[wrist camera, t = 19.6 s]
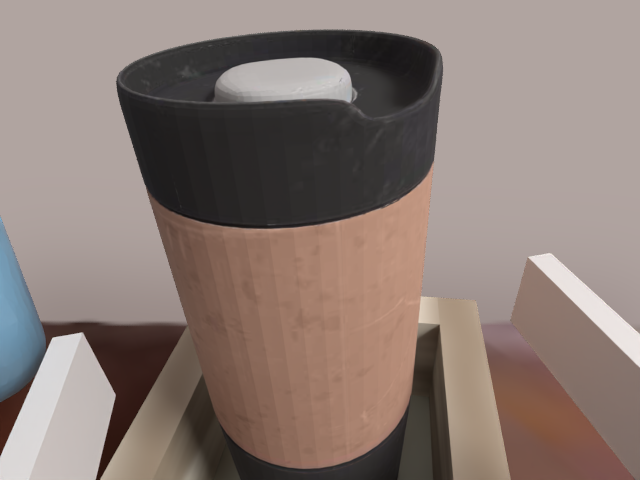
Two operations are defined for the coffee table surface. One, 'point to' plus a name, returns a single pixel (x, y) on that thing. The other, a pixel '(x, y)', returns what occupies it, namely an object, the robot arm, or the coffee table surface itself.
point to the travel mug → (295, 234)
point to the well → (421, 429)
